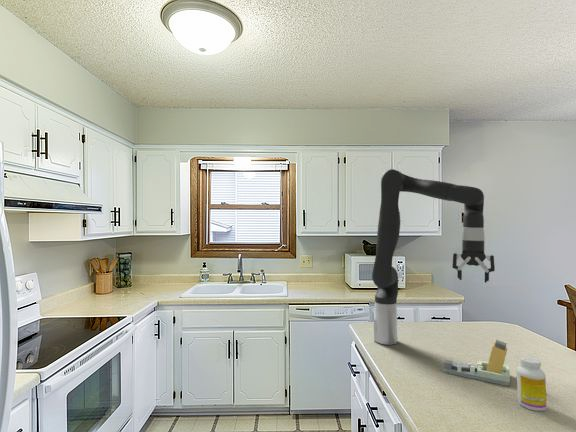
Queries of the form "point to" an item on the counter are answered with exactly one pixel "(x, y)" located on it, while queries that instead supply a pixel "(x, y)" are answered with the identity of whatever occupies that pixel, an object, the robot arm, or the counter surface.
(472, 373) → the board
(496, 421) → the counter surface
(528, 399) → the supplement bottle
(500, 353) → the block
